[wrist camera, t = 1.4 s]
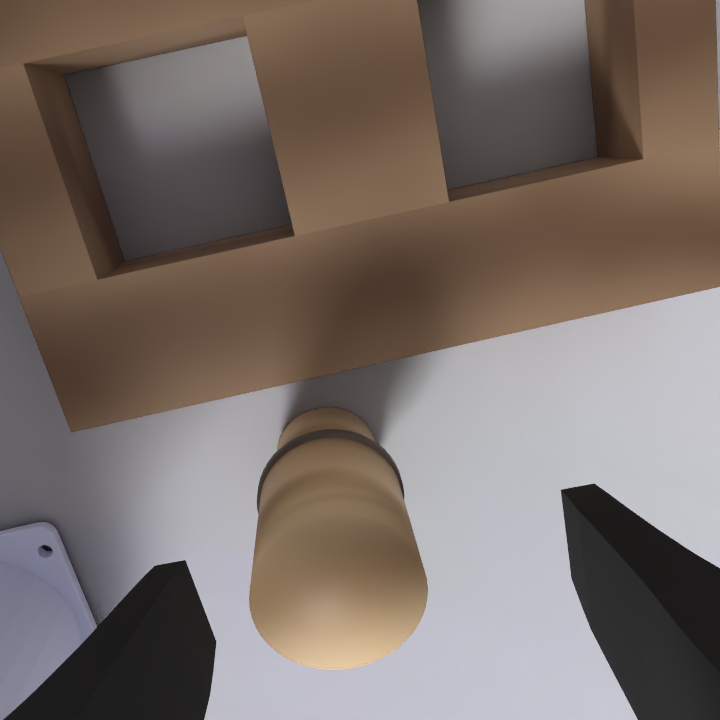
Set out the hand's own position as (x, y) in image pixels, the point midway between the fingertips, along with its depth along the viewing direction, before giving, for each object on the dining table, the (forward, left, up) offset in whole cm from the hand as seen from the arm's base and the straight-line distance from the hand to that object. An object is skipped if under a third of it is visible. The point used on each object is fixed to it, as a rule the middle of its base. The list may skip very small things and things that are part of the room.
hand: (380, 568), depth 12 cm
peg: (-3, +1, -11) cm, 12 cm away
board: (+8, -2, -11) cm, 14 cm away
